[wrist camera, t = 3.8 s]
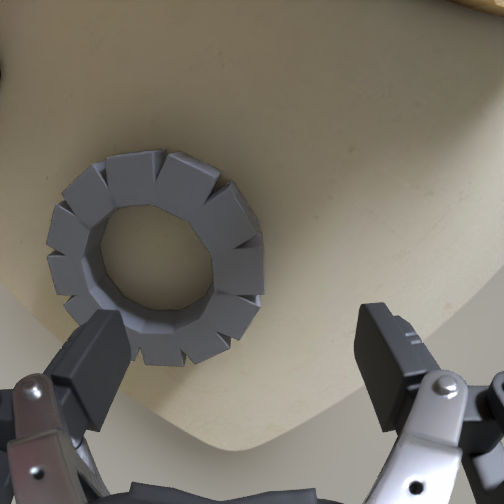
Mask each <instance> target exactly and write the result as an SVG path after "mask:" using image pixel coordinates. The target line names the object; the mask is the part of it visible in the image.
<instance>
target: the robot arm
mask: <svg viewBox="0 0 504 504" xmlns="http://www.w3.org/2000/svg"><path fill="white" fill-rule="evenodd" d="M67 340H68V341H66V342H65V343H64V345H63V346H62V349H60V350H59V352H58V353H57V354H56V356H55V357H54V358H53V360H52V361H51V363H50V364H49V365H48V367H47V368H46V370H45V371H44V372H43V374H40V373H36V374H31V375H28V376H26V377H24V378H22V379H21V380H20V381H19V382H18V383H17V384H16V385H15V387H14V389H4V390H0V504H11V502H12V499H13V496H14V495H15V500H16V504H343V503H339V502H336V501H331V500H326V499H317V496H316V489H315V488H310V489H301V490H287V491H269V492H265V493H260V494H257V495H252V496H247V497H242V498H237V499H232V500H226V501H215V500H211V499H208V498H204V497H200V496H197V495H194V494H191V493H187V492H184V491H181V490H178V489H175V488H170V487H162V486H155V485H149V484H143V483H136V482H132V483H131V487H130V490H129V492H125V493H117V494H113V495H111V494H110V492H109V491H108V490H107V488H106V486H105V485H104V483H103V481H102V478H101V476H100V474H99V471H98V469H97V467H96V464H95V462H94V459H93V457H92V454H91V452H90V449H89V446H88V444H87V441H86V439H85V438H84V436H83V435H84V433H85V431H86V430H92V431H96V432H100V430H101V427H102V425H103V422H104V420H105V418H106V415H107V413H108V411H109V408H110V406H111V404H112V402H113V399H114V397H115V395H116V393H117V390H118V388H119V386H120V384H121V381H122V379H123V377H124V375H125V373H126V370H127V368H128V366H129V364H130V361H131V347H130V343H129V340H128V336H127V333H126V329H125V326H124V322H123V318H122V315H121V313H120V311H119V310H109V309H98V310H96V312H95V313H94V314H93V315H92V317H91V318H90V319H89V321H88V322H87V323H86V322H85V323H84V324H83V325H81V326H80V327H78V328H77V329H75V330H74V331H73V333H72V334H71V335H70V337H69V338H68V339H67ZM354 355H355V359H356V362H357V365H358V367H359V370H360V372H361V375H362V378H363V380H364V383H365V385H366V388H367V391H368V393H369V395H370V398H371V401H372V404H373V406H374V409H375V412H376V415H377V417H378V420H379V423H380V426H381V428H382V431H383V432H388V431H393V430H396V433H397V435H398V437H397V439H396V441H395V443H394V445H393V448H392V450H391V452H390V454H389V456H388V458H387V460H386V462H385V464H384V466H383V468H382V470H381V472H380V474H379V475H378V478H377V479H376V481H375V483H374V485H373V487H372V488H371V490H370V492H369V494H368V495H367V497H366V498H365V500H364V502H363V503H362V504H448V501H449V498H450V495H451V492H452V489H453V486H454V483H455V480H456V476H457V473H458V469H459V466H460V462H462V465H463V468H464V470H465V473H466V476H467V478H468V481H469V483H470V486H471V489H472V492H473V495H474V498H475V501H476V504H504V447H503V445H502V443H501V439H502V438H503V437H504V371H502V372H499V373H497V374H496V375H495V376H494V378H493V380H492V382H491V384H490V386H468V385H467V383H466V381H465V380H464V379H463V378H462V377H461V376H460V375H458V374H456V373H454V372H452V371H449V370H441V368H440V367H439V365H438V364H437V362H436V361H435V359H434V358H433V356H432V355H431V353H430V352H429V350H428V349H427V347H426V346H425V345H424V343H422V340H421V339H420V337H419V336H418V335H417V334H416V331H415V330H414V329H413V327H412V326H411V324H410V323H409V322H407V321H406V320H404V319H403V318H401V317H400V316H393V315H392V313H391V312H390V310H389V309H388V307H387V306H386V305H385V303H383V302H380V303H369V304H362V305H361V306H360V309H359V315H358V321H357V328H356V334H355V340H354Z"/></svg>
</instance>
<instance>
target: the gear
mask: <svg viewBox="0 0 504 504" xmlns="http://www.w3.org/2000/svg"><path fill="white" fill-rule="evenodd" d="M221 172H222V171H221V170H219V169H217V168H215V167H212V166H210V165H208V164H206V163H204V162H202V161H200V160H198V159H196V158H194V157H192V156H190V155H188V154H186V153H184V152H181V151H178V152H175V153H171V154H168V155H167V150H166V149H156V150H147V151H139V152H131V153H124V154H119V155H115V156H110V157H106V158H105V161H102V162H98V163H94V164H92V165H90V166H89V167H88V168H87V169H86V170H85V171H84V172H83V173H82V174H81V175H80V176H79V177H77V178H76V179H75V180H74V181H73V182H72V183H71V184H70V185H69V186H68V187H67V188H66V189H65V190H64V191H63V192H62V195H63V197H64V198H65V200H64V201H62V202H59V203H57V204H55V207H54V211H53V215H52V219H51V223H50V228H49V232H48V237H47V242H46V244H47V245H48V246H50V247H52V248H53V249H55V251H53V252H52V253H50V254H49V255H48V256H47V260H48V264H49V268H50V272H51V275H52V279H53V282H54V286H55V289H56V293H57V295H72V296H71V297H70V298H69V299H68V300H67V302H66V303H65V304H64V305H63V307H64V308H65V309H66V310H67V312H68V313H69V314H70V315H71V316H72V318H73V319H74V320H75V321H76V322H77V324H78V325H79V326H81V325H83V324H84V323H85V322H86V323H87V322H88V321H89V319H90V318H91V317H92V315H93V314H94V313H95V312H96V310H98V309H109V310H119V311H120V313H121V315H122V318H123V322H124V326H125V329H126V333H127V336H128V340H129V343H130V347H131V361H133V362H134V361H135V359H136V356H137V354H138V352H139V350H140V349H141V352H142V356H143V359H144V363H145V365H156V366H180V367H183V366H184V364H185V360H186V356H188V357H189V359H190V360H191V361H192V362H193V363H194V364H198V363H200V362H202V361H204V360H207V359H209V358H211V357H213V356H215V355H217V354H219V353H221V352H224V351H226V350H228V349H230V344H231V338H234V339H236V340H240V339H241V337H242V335H243V334H244V332H245V331H246V329H247V328H248V326H249V325H250V323H251V322H252V320H253V318H254V317H255V315H256V314H257V312H258V311H259V309H260V307H261V302H260V295H264V294H265V284H264V247H263V238H262V232H259V231H258V219H257V217H256V216H255V214H254V213H253V211H252V210H251V208H250V206H249V205H248V203H247V202H246V200H245V199H244V197H243V196H242V194H241V193H240V191H239V190H238V188H237V186H236V185H235V183H234V182H233V181H231V182H229V183H228V184H226V185H224V186H223V187H221V188H220V189H218V190H217V191H215V192H214V193H212V194H211V192H212V190H213V188H214V186H215V184H216V182H217V180H218V179H219V177H220V175H221ZM143 205H154V206H156V207H158V208H160V209H162V210H164V211H166V212H168V213H170V214H172V215H174V216H176V217H178V218H180V219H182V220H184V221H186V222H188V223H189V225H190V226H191V228H192V229H193V230H194V232H195V233H196V235H197V236H198V238H199V239H200V240H201V242H202V243H203V245H204V246H205V247H206V249H207V250H208V252H209V253H210V254H211V261H212V272H213V282H212V284H211V286H210V288H209V290H208V292H207V294H206V296H205V297H203V298H202V299H200V300H198V301H196V302H194V303H193V304H191V305H189V306H187V307H185V308H184V309H182V310H150V309H148V308H146V307H144V306H141V305H139V304H137V303H135V302H133V301H131V300H130V299H128V298H126V297H124V296H123V294H122V293H121V292H120V291H119V289H118V288H117V287H116V286H115V284H114V283H113V282H112V281H111V279H110V278H109V277H108V275H107V274H106V272H105V268H104V263H103V258H102V253H101V248H100V242H101V239H102V236H103V233H104V230H105V227H106V224H107V221H108V218H109V216H110V215H111V214H113V213H114V212H115V211H116V210H118V209H119V208H120V207H131V206H143Z"/></svg>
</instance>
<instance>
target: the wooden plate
mask: <svg viewBox="0 0 504 504" xmlns="http://www.w3.org/2000/svg"><path fill="white" fill-rule="evenodd" d="M447 1H449V2H451V3H454V4H457V5H460V6H463V7H466V8H469V9H472V10H475V11H479V12H483V13H486V14H490V15H495V16H500V17H504V0H447Z"/></svg>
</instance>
